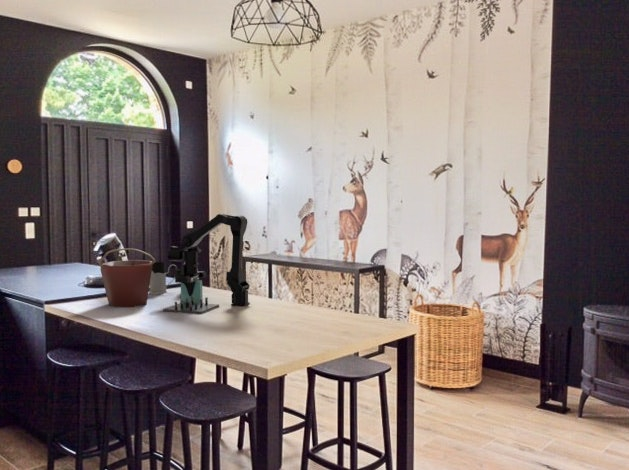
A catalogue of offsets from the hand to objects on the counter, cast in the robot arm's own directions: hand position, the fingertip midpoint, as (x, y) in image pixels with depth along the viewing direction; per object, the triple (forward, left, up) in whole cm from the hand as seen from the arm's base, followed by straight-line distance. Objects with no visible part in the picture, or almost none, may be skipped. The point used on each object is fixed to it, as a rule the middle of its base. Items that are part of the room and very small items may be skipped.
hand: (191, 295), depth 265 cm
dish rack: (-8, +14, -3) cm, 16 cm away
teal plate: (0, 0, -3) cm, 3 cm away
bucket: (+26, +11, -3) cm, 28 cm away
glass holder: (+27, -19, -3) cm, 33 cm away
